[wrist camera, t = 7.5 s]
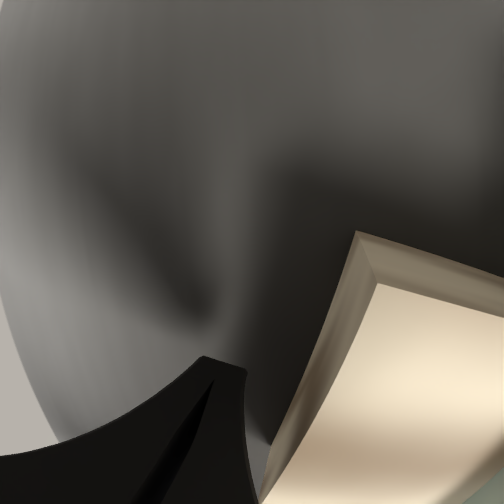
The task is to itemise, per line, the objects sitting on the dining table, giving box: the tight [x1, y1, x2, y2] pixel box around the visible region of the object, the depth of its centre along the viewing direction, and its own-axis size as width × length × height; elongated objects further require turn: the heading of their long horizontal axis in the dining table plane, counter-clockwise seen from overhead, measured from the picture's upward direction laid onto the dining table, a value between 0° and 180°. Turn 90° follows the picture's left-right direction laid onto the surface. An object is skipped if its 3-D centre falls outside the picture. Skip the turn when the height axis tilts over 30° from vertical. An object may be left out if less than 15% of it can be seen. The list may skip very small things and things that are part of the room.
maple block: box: [258, 230, 504, 504], centre depth 8 cm, size 10×8×4 cm
